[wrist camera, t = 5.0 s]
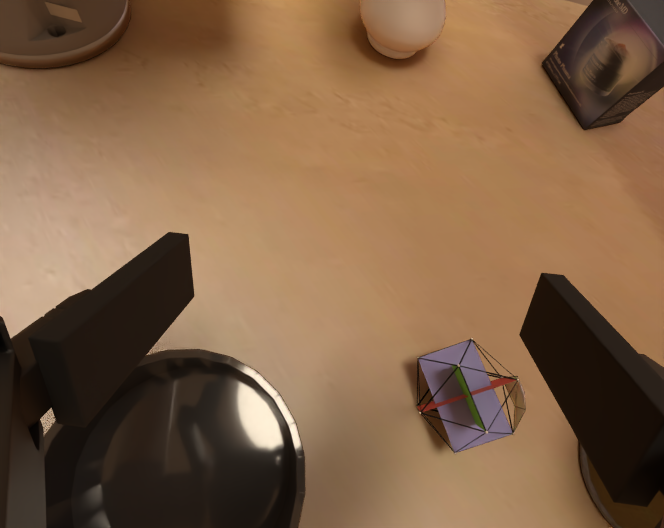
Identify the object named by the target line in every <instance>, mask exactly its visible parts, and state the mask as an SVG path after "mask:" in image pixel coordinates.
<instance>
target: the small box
mask: <svg viewBox="0 0 664 528" xmlns="http://www.w3.org/2000/svg"><path fill="white" fill-rule="evenodd" d="M542 65H543V66H544V68H545V69H546V71H547V72H548V74H549V75H550V77H551V79H552V80H553V82H554V83H555V85H556V86H557V88H558V89H559V91H560V93H561V94H562V96H563V97H564V99H565V100H566V102H567V103H568V105H569V106H570V108H571V110H572V111H573V113H574V114H575V116H576V117H577V119H578V121H579V122H580V124H581V125H582V127H583V129H591V128H596V127H601V126H605V125H610V124H615V123H619V122H621V121H622V120H624V118H625V117H626V116H627V115H629V114H630V113H631V112H632V111H634V110H635V109H636V108H638V107H639V106H640V105H641V104H643V103H644V102H645V101H646V100H647V99H649V98H650V97H651V96H652V95H654V94H655V93H656V92H658V91H659V90H660V89H661V88H663V87H664V0H593V1H592V2H591V4H590V5H589V6H588V7H587V9H586V10H585V11H584V12H583V14H582V15H581V16H580V17H579V18H578V20H577V21H576V22H575V23H574V25H573V26H572V27H571V28H570V30H569V31H568V32H567V33H566V34H565V36H564V37H563V38H562V39H561V40H560V42H559V43H558V44H557V45H556V47H555V48H554V49H553V50H552V51H551V53H550V54H549V55H548V56H547V58H546V59H545V60H544V61H543V62H542Z"/></svg>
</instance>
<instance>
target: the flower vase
mask: <svg viewBox="0 0 664 528" xmlns="http://www.w3.org/2000/svg"><path fill="white" fill-rule="evenodd" d="M360 14H361V18H362V22H363V24H364V26H365V28H366V30H367V36H368V40H369V42H370V44H371V45H372V46H373V47H374V49H375V50H377V51H378V52H379V53H381V54H383V55H385V56H387V57H390V58H394V59H404V58H408V57H410V56H412V55H414V54H415V53H416V52H417V51H419V50H421V49H424V48H426V47H428V46H430V45H431V44H432V43H433V42H434V41H435V40H436V39H437V38H438V37H439V36H440V34H441V32H442V30H443V27H444V24H445V19H446V3H445V0H361V1H360Z"/></svg>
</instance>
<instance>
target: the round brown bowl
mask: <svg viewBox="0 0 664 528" xmlns="http://www.w3.org/2000/svg"><path fill="white" fill-rule="evenodd" d="M44 465H45V497H46V528H298V527H299V522H300V517H301V512H302V507H303V502H304V498H305V491H306V489H305V456H304V450H303V447H302V443H301V439H300V435H299V432H298V428H297V424H296V422H295V419H294V418H293V416H292V414H291V412H290V411H289V409H288V407H287V405H286V404H285V402H284V400H283V398H282V397H281V395H280V394H279V392H278V391H277V390H276V389H275V388H274V387H273V386H272V385H271V384H270V383H269V382H268V381H267V380H266V379H265V378H264V377H263V376H262V375H261V374H260V373H259V372H257V371H256V370H254V369H252V368H250V367H249V366H247V365H245V364H243V363H242V362H240V361H238V360H236V359H234V358H233V357H230V356H226V355H222V354H218V353H214V352H210V351H206V350H202V349H201V350H200V349H185V350H165V351H162V352H158V353H154V354H150V355H147V356H145V357H144V358H143V359H142V360H141V361H140V363H139V364H138V365H137V366H136V368H135V369H134V370H133V371H132V372H131V374H130V375H129V376H128V377H127V378H126V380H125V381H124V382H123V383H122V384H121V386H120V387H119V388H118V389H117V390H116V392H115V393H114V394H113V395H112V397H111V398H110V399H109V400H108V401H107V403H106V404H105V405H104V406H103V407H102V409H101V410H100V411H99V412H98V413H97V415H96V416H95V417H94V418H93V419H92V421H91V422H90V423H89V424H88V426H87V427H86V428H83V427H76V426H69V425H62V424H57V421H55V422H54V424H53V425H52V426H51V428H50V429H49V430H48V431H47V433H46V434H45V435H44Z"/></svg>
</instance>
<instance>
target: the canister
mask: <svg viewBox="0 0 664 528" xmlns="http://www.w3.org/2000/svg"><path fill="white" fill-rule="evenodd" d="M580 463H581V470H582V474H583V477H584V480H585V483H586V486H587V489H588V491H589V493H590V494H591V496H592V498H593V500H594V502H595V504H596V505H597V507H598V508H599V510H600V512H601V513H602V515H603V516H604V517H605V518H606V519H607V521H608V522H609V523H610V524H611V525H612V526H613V527H614V528H655V526H656V525H657V524H658V522H659V521H660V520H661V518H662V517H663V516H664V496H663V495H662V493H661V492H660V490H659V491H658V493H657V494H656V495H655V497H654V498H653V500H652V501H651V502H650V504H649V505H648V507H643V506H636V505H629V504H622V503H615V502H613V500H612V499H611V497H610V495H609V493H608V491H607V490H606V488H605V486H604V484H603V483H602V481H601V479H600V477H599V475H598V474H597V472H596V470H595V468H594V467H593V465H592V463H591V461H590V460H589V458H588V456H587V454H586V452H585V451H584V449H583V447H582V445H581V444H580Z"/></svg>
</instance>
